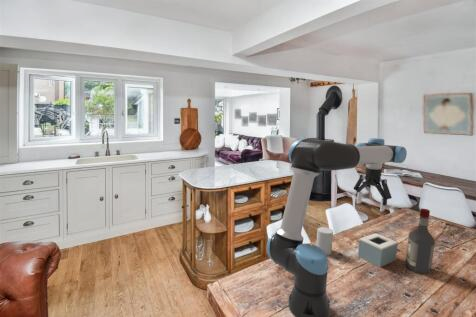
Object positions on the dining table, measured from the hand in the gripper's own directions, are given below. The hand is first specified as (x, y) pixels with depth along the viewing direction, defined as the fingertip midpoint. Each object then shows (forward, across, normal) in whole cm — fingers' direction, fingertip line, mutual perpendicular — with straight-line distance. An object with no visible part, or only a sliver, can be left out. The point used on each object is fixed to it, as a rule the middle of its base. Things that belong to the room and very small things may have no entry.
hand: (370, 207), depth 140 cm
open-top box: (+26, -7, +1) cm, 27 cm away
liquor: (+26, -22, -8) cm, 35 cm away
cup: (+26, +12, +20) cm, 35 cm away
